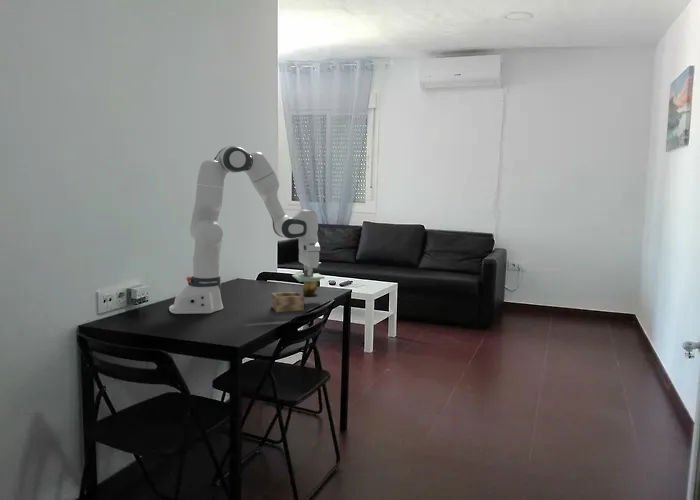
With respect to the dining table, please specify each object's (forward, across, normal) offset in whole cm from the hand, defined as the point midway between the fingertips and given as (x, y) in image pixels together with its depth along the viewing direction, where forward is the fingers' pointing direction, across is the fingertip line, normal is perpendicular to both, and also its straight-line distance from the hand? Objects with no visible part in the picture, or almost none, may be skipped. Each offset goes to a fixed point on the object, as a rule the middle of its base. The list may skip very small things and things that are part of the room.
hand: (308, 274), depth 269 cm
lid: (+2, 0, 0) cm, 3 cm away
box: (+13, +14, -13) cm, 23 cm away
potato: (+13, -16, +6) cm, 21 cm away
